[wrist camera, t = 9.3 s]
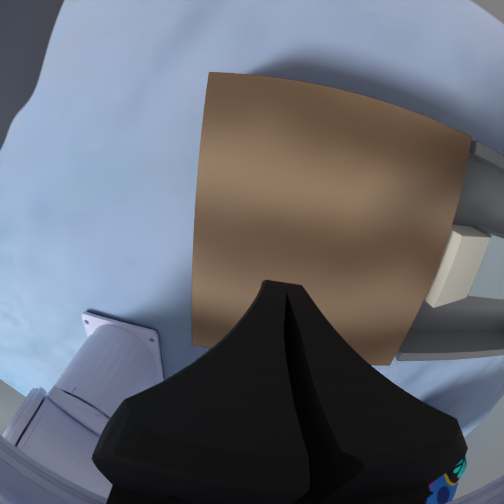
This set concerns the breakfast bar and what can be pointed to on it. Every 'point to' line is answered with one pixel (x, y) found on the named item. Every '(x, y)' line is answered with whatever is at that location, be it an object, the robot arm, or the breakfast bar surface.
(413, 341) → the bin
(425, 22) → the breakfast bar surface
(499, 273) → the blue grey tile
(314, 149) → the tan wooden board
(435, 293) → the cream tile
